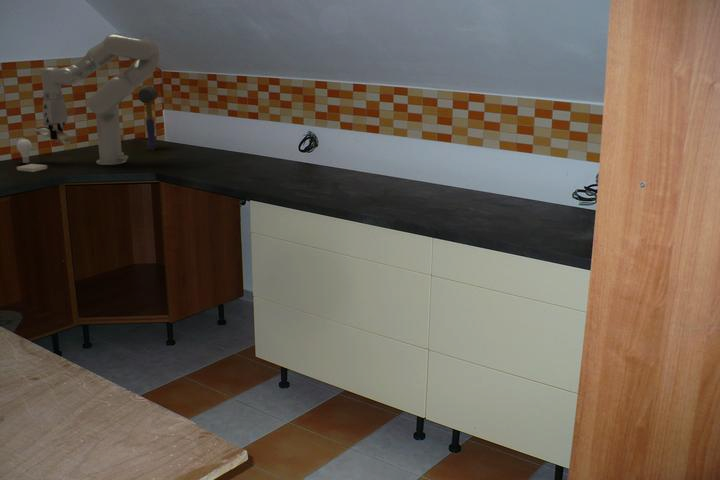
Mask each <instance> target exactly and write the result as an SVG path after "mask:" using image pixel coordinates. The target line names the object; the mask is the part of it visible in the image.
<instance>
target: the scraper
mask: <svg viewBox="0 0 720 480" xmlns="http://www.w3.org/2000/svg"><path fill="white" fill-rule="evenodd" d="M55 130H56V133H57V139H56V140H54V139H52V140H53V141H55V142H57V143H59V144H60V145H62V146H64V147H66V146H67V147H68V146H70V144H71V139H72V136H70V135H69V134H68V133H65V132H62V131H60V130H58V129H57V127H55ZM34 132H36V133H38V134H39V135H40V136H43V137H44V138H45V137H47V138H50V130H48V128H47V127H42V128H35V129H34Z"/></svg>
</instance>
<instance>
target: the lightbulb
mask: <svg viewBox="0 0 720 480" xmlns="http://www.w3.org/2000/svg"><path fill="white" fill-rule="evenodd" d="M15 145H16V150H17V151H18V152H19V154H20V156H21V158H22V163H24V164H25V165H28V164H30V153H31V150H32V149H33V145H32V142H31V141H30V139H27V138H21V139H19V140H18V141H16V144H15Z"/></svg>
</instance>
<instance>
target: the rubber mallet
mask: <svg viewBox="0 0 720 480" xmlns="http://www.w3.org/2000/svg"><path fill="white" fill-rule="evenodd" d="M158 96H159V92H158V90H157V89H156V88H155V86H144V87H142V88H141V89H140V90H138V93H137V98H138V100H139V101H140V102H141V103H143V104H145V107H146V108H145V109H146V125H145V126H146V134H147V148H148V149H149V150H151V151H154V150H156V148H157V143H156V135H155V134H156V133H155V132H156V127H155V121H154V119H153V108H152V103H153V102H154V101H155V100H156V99H157V98H158Z"/></svg>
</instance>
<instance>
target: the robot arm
mask: <svg viewBox="0 0 720 480" xmlns="http://www.w3.org/2000/svg"><path fill="white" fill-rule="evenodd" d="M117 57H121V58H127V59H131V60H135V61H134V62H133V63H131V65H130V66H129V67H127V69H125V70H124V71H123V72H122V73H120V74H118V75H116V76H113V77H112V78H110V79H109V80H108V81H107V82H105V83H104V84H103V85H102V86H101V87H100V88H98V90H97V91H96V92H94V93H93V94H92V95H91V96H90V98H89V100H88V105H89V107H88V108H90V111H91V112H92V113H93V114H95V115H96V119H95V121H96V131H97V133H96V134H97V142H98V143H97V144H98V153H99V159H97V160H96V164H97V165H101V166H113V165H114V166H116V165H121V164H124V163H126V162H127V160H128V158H129V155H125V153H124V151H122V141H121V139H122V138H121V128H120V103H122V101H123V100H125V98H127V97H129V96H131V95H132V94H133V92H134V91H135V90H136V89H137V88H139V87H140V85H142V84H143V83H144V82H145V81H146V80H147V79H149V77H151V75H152V74H153V73H154V72H155V70H156V69H157V67H158V64H159V59H160V53H159V48H158V46H157V43H155V42H154V40H152V39H149V38H141V39H138V38H134V37H129V36H125V35H124V34H122V33H120V32H119V33H118V32H116V33H111V34H108V35H107V36H106V37H105V38H104V40H102V41H101V42H99V43H98V44H96V45H94V46H92V47H91V48H89V50H88V51H86V54H85V55H84V56H83V57H82V58H80V59H79V60H77V61H76V62H74V63H73V64H71V65H69V66H66V67H60V68H59V67H56V66H53V67H52V66H48V67H47V66H46V67H43V68H41V70H40V71H41V72H40V73H41V83H42V92H43V93H42V94H43V95H42V98H43V101H42V118H43V123H42V125H43V126H45V128H46V129H48V130H50V137H49V138H50V139H51V140H53V139H54V140H53V141H55V140H56V139H57V133H56V130H55V128H57V129H58V130H60V131H62V132H63V130H64V126H65V125H66V123H67V122H68V120H69V119H68V111H67V105H66V102H65V99H64V98H63V91H62V86H72V85H74V84H77V83H79V82H81V81H82V80H84V79H86V78H87V77H88V76H91V74H93V73H95V72H96V71H97V70H100V69H101V68H102V67H104V66H106V65H107V64H108V63H110V62H112V61H113V60H114V59H116V58H117Z"/></svg>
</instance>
